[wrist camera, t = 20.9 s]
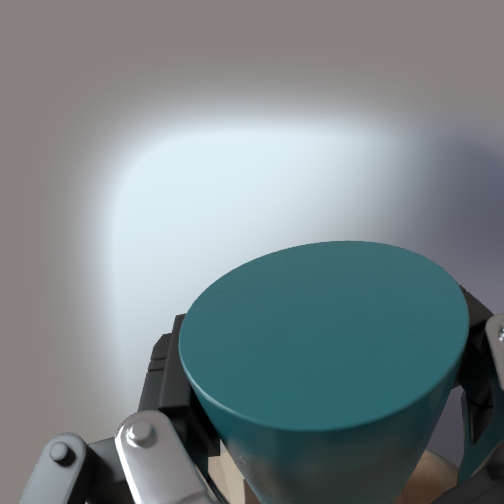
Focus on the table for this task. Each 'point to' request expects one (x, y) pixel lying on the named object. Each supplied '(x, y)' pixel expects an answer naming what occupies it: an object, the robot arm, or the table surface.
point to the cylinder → (326, 367)
